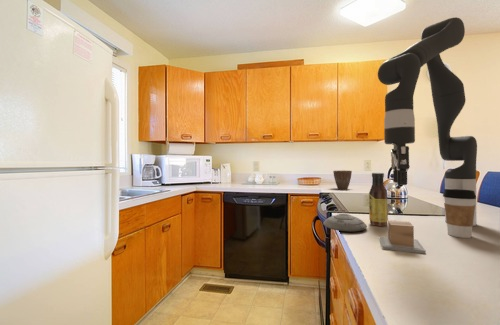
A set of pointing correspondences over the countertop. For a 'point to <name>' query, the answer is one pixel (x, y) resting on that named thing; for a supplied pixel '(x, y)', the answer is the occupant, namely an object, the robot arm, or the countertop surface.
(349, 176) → the plant pot
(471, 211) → the coffee cup
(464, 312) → the countertop surface
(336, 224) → the flying saucer
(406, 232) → the walnut cube
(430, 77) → the robot arm
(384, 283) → the countertop surface
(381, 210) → the sauce bottle
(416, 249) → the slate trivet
